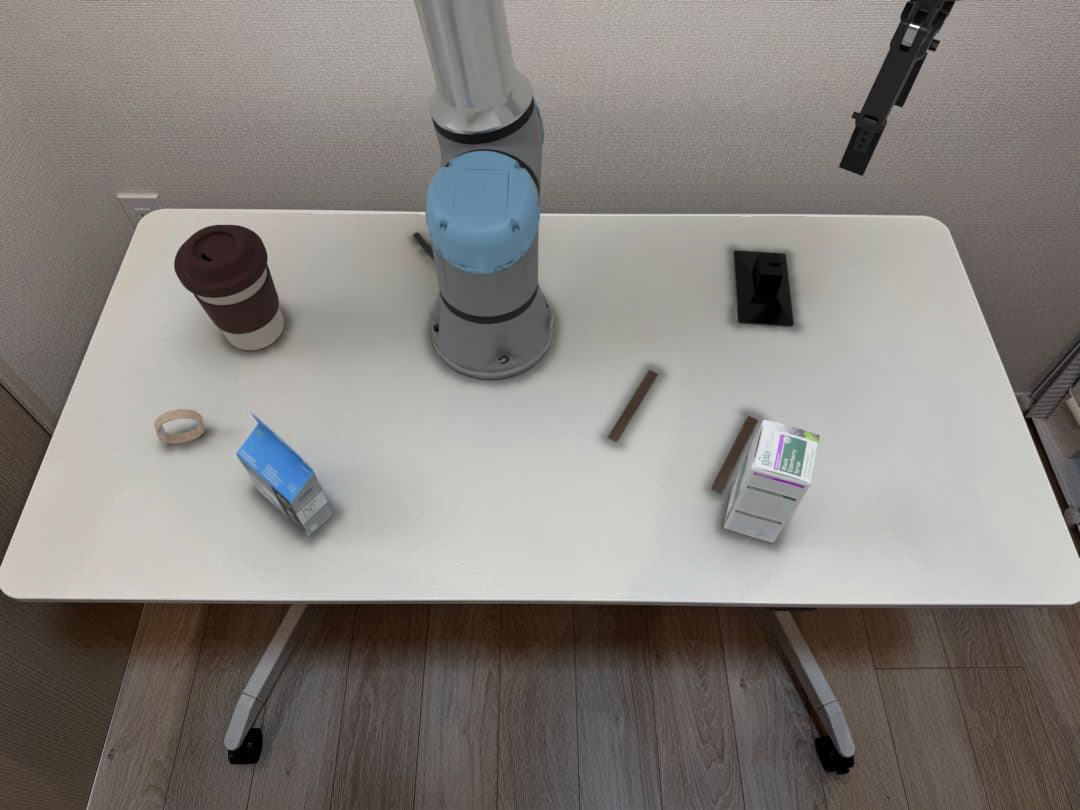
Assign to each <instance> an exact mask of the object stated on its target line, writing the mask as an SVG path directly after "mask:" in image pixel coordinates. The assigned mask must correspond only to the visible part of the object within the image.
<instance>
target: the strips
mask: <svg viewBox="0 0 1080 810" xmlns="http://www.w3.org/2000/svg"><path fill="white" fill-rule="evenodd" d="M658 376H659V373H658V372H656V371H653V370H651V369H648V371H647V373H646V374H645V376H644V378H642V381H641V382H640V384H639V385H638V387H637V389H636V391H635V392H634V394H633V395H632V397H631V398H630V400H629V402H628V403H627V405H626V407H625V408H624V410H623V412H622V413H621V415H620V416H619V418H618V420H617V421H616V423H615V424H614V426H613V428H612V429H611V431H610V432H609V435H608V436H607V438H608V439H609V440H612V441H613V442H616V443H618V441H619V439H620V438H621V437H622V434H623V433H624V431H625V430H626V428H627V426H628V424H629V423H630V421H631V420H632V418H633V417H634V415H635V413H636V412H637V410H638V409H639V407H640V405H641V404H642V402H643V400H644V398H645V397H646V395H647V394H648V392H649V391H650V389H651V387H652V385H653V383H654V382H655V380H656V378H657V377H658ZM758 421H759V419H758V418H755V417H753V416H750V415H747V417H746V419H745V421H744V424H743V425H742V427H741V429H740V431H739V433H738V435H737V437H736V439H735V441H734V443H733V445H732V447H731V449H730V451H729V452H728V454H727V456H726V459H725V461H724V463H723V464H722V466H721V468H720V470H719V472H718V474H717V476H716V478H715V480H714V482H713V483H712V486H711V488H710V489H711V490H712V491H714V492H716V493H718V494H720V495H721V494H722V493H723V490H724V488H725V487H726V485H727V483H728V480H729V479H730V477H731V475H732V473H733V470H734V469H735V467H736V465H737V463H738V461H739V458H740V457H741V455H742V453H743V451H744V449H745V447H746V445H747V443H748V441H749V439H750V437H751V435H752V433H753V431H754V429H755V427H756V425H757V423H758Z"/></svg>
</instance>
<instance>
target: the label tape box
mask: <svg viewBox="0 0 1080 810" xmlns="http://www.w3.org/2000/svg"><path fill="white" fill-rule="evenodd" d="M250 415H251V416H252V417H253V418H254V420H255V421H256V422H257V424H256V425H255V427H254V428H253V430H252V431H251V433H250V434H249V435H248V437H247V438H246V439H245V441H244V442H243V444H242V445H241V446H240V447H239V448H238V450H237V451H236V452H235V453H236V454H235V455H236V457H237V458H238V460H239V462H240V463H241V465H242V467H243V468H244V470H245V471H246V473H247V474H248V476H249V477H250V480H251V481H252V482H253V484H254V486H255V488H256V489H257V492H258V493H259V494H261V495H262V496H263V498H265V499H266V500H267V501H268V502H269V503H271V504H272V506H274V507H275V508H276V509H277V510H278V511H280V512H281V514H283V515H284V516H285V517H286V518H287V519H288V520H289V521H291V522H292V523H293V524H294V525H295V526H297V528H298V529H300V530H301V531H302V532H303V533H304V534H306V535H307V536H308V537H310V536H312V535H313V534H314V533H315V532H317V530H319V528H321V527H322V526H323V525H324V524H325V523H326V522H327V521H328V520H329V519H330V518H331V517H332V516H334V513H335V512H334V511H333V509H332V507H331V504H330V502H329V501H328V498H327V496H326V494H325V492H324V490H323V488H322V486H321V484H320V482H319V479H318V478H317V476H316V473H315V472H314V469H313V468H312V467H311V465H310V464H309V462H307V461H306V460H305V458H303V457H302V455H301V454H299V452H298V451H296V449H294V448H293V447H292V445H290V444H289V443H288V442H286V440H284V439H283V438H282V437H281V436H280V435H279V434H277V432H275V431H274V430H273V429H272V428H271V427H270V426H268V425H267V423H265V422H264V421H263V420H261V419H260V418H259V417H258V416H257V415H256V414H255V413H253V412H252V411H250Z"/></svg>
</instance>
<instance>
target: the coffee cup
mask: <svg viewBox="0 0 1080 810" xmlns="http://www.w3.org/2000/svg"><path fill="white" fill-rule="evenodd" d="M268 260H269V259H268V251H267V249H266V246H265V244H264V242H263V239H262V238H261V236H259V234H258V233H256V232H255V231H254V230H252V229H250V228H249V227H246V226H242V225H238V224H213V225H209V226H208V225H207V226H205V227H203V228H200V229H199V230H197V231H196V232H194V233H193V234H192V235H190V237H189V238H187V239H186V240H185V241H184V242H183V243H182V244H181V246H180V247H179V248H178V250H177V252H176V254H175V256H174V260H173V261H174V262H173V268H174V272H175V275H176V276H177V278H178V280H179V282H180V283H181V285H182V286H183V287H184V288H185V289H186V290H187V291H188V292H190V293H192V294H193V296H194V298H195V299H196V301H197V302H198V303H199V304H200V306H201V308H202V309H203V310H204V312H205V313H206V314H207V316H208V318H210V320H211V321H212V323H213V324H214V325H215V326H216V327H217V328H218V329H219V330H220V331H221V333H222V334H223V335H224V337H225V338H226V340H227V341H228V343H230V344H231V345H232V346H233V347H235V348H237V349H239V350H244V351H257V350H261V349H264V348H267V347H269V346H270V345H272V344H273V343H275V342H276V341H277V340H278V339H279V338H280V336H281V335H282V333H283V330H284V327H285V320H284V319H285V318H284V316H283V311H282V309H281V307H280V298H279V294H278V292H277V289H276V285H275V283H274V279H273V276H272V273H271V270H270V267H269V265H268Z"/></svg>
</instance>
